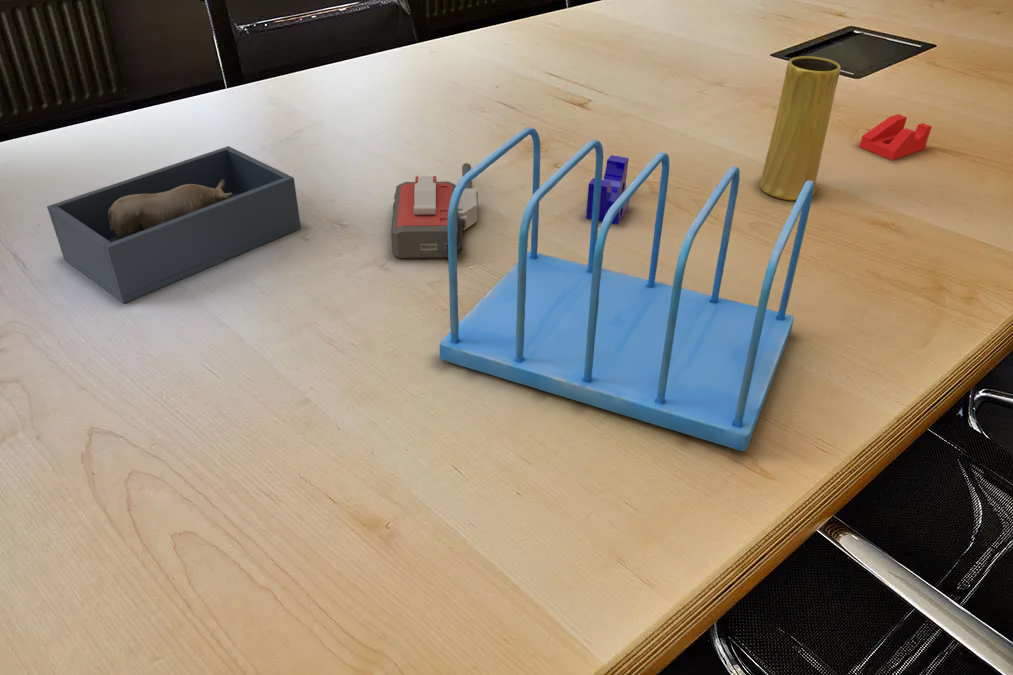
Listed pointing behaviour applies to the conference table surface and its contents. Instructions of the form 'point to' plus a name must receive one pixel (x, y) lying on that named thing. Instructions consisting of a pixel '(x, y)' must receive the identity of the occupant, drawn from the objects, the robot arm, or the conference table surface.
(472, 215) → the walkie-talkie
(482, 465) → the conference table surface
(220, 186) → the rhino figurine
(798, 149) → the vase
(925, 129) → the bracket
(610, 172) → the cable holder
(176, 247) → the bin
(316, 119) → the conference table surface
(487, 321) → the file sorter
